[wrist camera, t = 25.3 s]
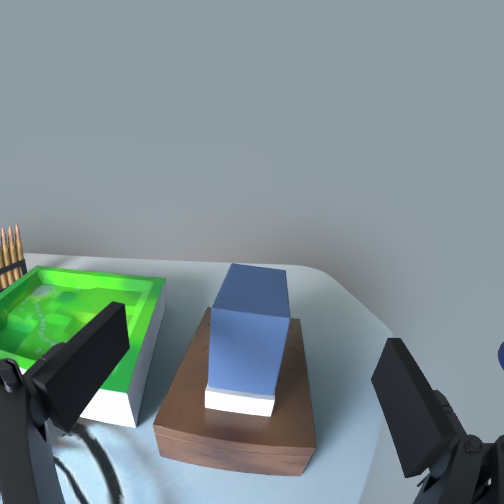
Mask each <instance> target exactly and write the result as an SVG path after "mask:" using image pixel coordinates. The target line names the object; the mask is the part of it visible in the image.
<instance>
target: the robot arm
mask: <svg viewBox="0 0 504 504" xmlns="http://www.w3.org/2000/svg"><path fill="white" fill-rule="evenodd" d="M129 349H130V343H129V336H128V328H127V319H126V309H125V304H124V303H119V302H115V301H112V302H111V303H109V304H108V305H107V306H106V307H105V308H104V309H103V310H102V311H100V312H99V313H98V314H97V315H96V316H95V317H94V318H93V319H91V320H90V321H89V322H88V323H87V324H86V325H85V326H84V327H83V328H82V329H80V330H79V331H78V332H77V333H76V334H75V335H74V336H73V337H72V338H71V339H70V340H69V341H68V342H66V343H65V342H60V343H58V344H56V345H54V346H52V347H51V348H50V349H49V350H48V351H47V352H46V354H44V355H42V356H41V359H40V358H39V359H38V360H37V361H36V362H35V363H34V364H33V365H32V366H31V367H30V368H29V369H28V370H27V371H26V372H25V373H24V374H23V375H22V372H21V370H20V368H19V365H18V363H17V362H16V361H15V360H13V359H11V358H4V359H0V493H1V495H2V501H3V504H65V501H64V498H63V494H62V491H61V487H60V484H59V480H58V476H57V472H56V468H55V463H54V459H53V454H52V448H51V444H50V437H49V430H48V425H47V423H46V421H47V419H48V418H49V417H50V419H51V421H52V422H53V424H54V426H56V427H58V428H60V429H61V430H63V431H65V432H67V433H69V431H70V430H71V428H72V427H73V425H74V424H75V423H76V421H77V420H78V418H79V417H80V415H81V414H82V413H83V411H84V410H85V408H86V407H87V406H88V404H89V403H90V401H91V400H92V399H93V397H94V396H95V394H96V393H97V392H98V390H99V389H100V388H101V386H102V385H103V383H104V382H105V381H106V379H107V378H108V377H109V375H110V374H111V373H112V371H113V370H114V369H115V367H116V366H117V365H118V363H119V362H120V361H121V359H122V358H123V357H124V355H125V354H126V353H127V351H128V350H129ZM371 381H372V384H373V386H374V389H375V391H376V394H377V397H378V399H379V402H380V405H381V407H382V410H383V413H384V416H385V418H386V421H387V424H388V427H389V430H390V433H391V436H392V439H393V442H394V445H395V448H396V451H397V454H398V457H399V460H400V463H401V466H402V470H403V473H404V476H405V478H409V477H413V476H417V475H421V474H422V472H424V471H425V470H426V469H427V468H429V471H430V473H429V474H428V475H427V476H426V477H425V478H424V479H423V480H422V481H421V482H420V483H419V484H418V485H417V486H418V487H419V486H420V485H421V484H422V483H423V485H422V487H421V489H420V491H419V493H418V495H417V497H416V499H415V501H414V503H413V504H504V435H502V436H500V437H499V438H498V439H497V440H496V442H495V443H482V441H481V440H480V439H479V438H478V437H477V436H475V435H467V434H466V432H465V430H464V429H463V427H462V425H461V423H460V421H459V420H458V418H457V416H456V414H455V413H453V409H452V407H451V406H450V404H449V402H448V401H447V399H446V397H445V396H444V395H443V394H442V393H440V392H439V391H438V390H432V388H431V386H430V384H429V383H428V381H427V379H426V378H425V376H424V374H423V373H422V371H421V370H420V368H419V366H418V365H417V363H416V362H415V360H414V358H413V357H412V355H411V354H410V352H409V351H408V349H407V347H406V346H405V344H404V343H403V341H402V340H401V339H400V338H388V339H387V342H386V344H385V347H384V349H383V352H382V354H381V357H380V359H379V362H378V364H377V366H376V369H375V371H374V373H373V376H372V378H371ZM489 479H491V484H490V485H488V480H489Z"/></svg>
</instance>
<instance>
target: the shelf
mask: <svg viewBox="0 0 504 504" xmlns="http://www.w3.org/2000/svg"><path fill="white" fill-rule="evenodd" d="M210 324H211V307H208V308H207V310H206V312H205V314H204V316H203V318H202V320H201V322H200V324H199V326H198V328H197V331H196V333H195V335H194V337H193V339H192V341H191V343H190V345H189V347H188V350H187V352H186V354H185V356H184V358H183V360H182V362H181V365H180V367H179V369H178V371H177V373H176V375H175V377H174V380H173V382H172V384H171V386H170V388H169V390H168V392H167V395H166V397H165V399H164V401H163V403H162V406H161V408H160V410H159V412H158V414H157V416H156V419H155V421H154V423H153V427H154V432H155V436H156V440H157V444H158V448H159V452H160V456H163V457H166V458H170V459H174V460H178V461H182V462H186V463H191V464H196V465H201V466H206V467H211V468H217V469H223V470H230V471H237V472H245V473H255V474H266V475H283V476H301V474H302V472H303V471H304V469H305V467H306V465H307V464H308V462H309V460H310V458H311V456H312V455H313V453H314V451H315V449H316V441H315V431H314V422H313V414H312V405H311V397H310V389H309V381H308V373H307V366H306V359H305V351H304V344H303V337H302V331H301V324H300V319H294V318H290V324H289V329H288V334H287V338H286V343H285V348H284V353H283V357H282V362H281V366H280V371H279V375H278V379H277V384H276V388H275V402H274V406H273V410H272V414H271V416H261V415H252V414H244V413H237V412H230V411H223V410H217V409H212V408H206V407H205V390H206V387H207V384H208V372H209V345H210Z"/></svg>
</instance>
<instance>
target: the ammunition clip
mask: <svg viewBox="0 0 504 504" xmlns="http://www.w3.org/2000/svg"><path fill="white" fill-rule="evenodd" d="M8 240H9V241H8V243H9V250H8V246H7V241H6V234H5V231H4V228H2V232H1V243H2V244H1V245H2V251H1V249H0V293H1V292H2V291H4V290H5V289H6V288H7V287H9V286H10V285H11V284H13V283H14V282H15V281H17V280H18V279H19V278H21V277H22V276H23V275H25V274H26V273H27V269H26V263H25V259H24V257H23V249H22V243H21V238H20V231H19V227H18V225H17V224H16V228H15V245H14V238H13V232H12V229H11V226H9V230H8Z"/></svg>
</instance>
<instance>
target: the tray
mask: <svg viewBox="0 0 504 504" xmlns="http://www.w3.org/2000/svg"><path fill="white" fill-rule="evenodd" d="M112 301H115V302H119V303H124V304H125V309H126V319H127V328H128V336H129V343H130V349H129V350H128V351H127V353H126V354H125V355H124V357H123V358H122V359H121V361H120V362H119V363H118V365H117V366H116V367H115V369H114V370H113V371H112V373H111V374H110V375H109V377H108V378H107V379H106V381H105V382H104V383H103V385H102V386H101V388H100V389H99V390H98V392H97V393H96V394H95V396H94V397H93V399H92V400H91V401H90V403H89V404H88V406H87V407H86V408H85V410H84V411H83V413H82V414H81V415H80V417H84V418H88V419H93V420H97V421H102V422H107V423H112V424H117V425H122V426H128V427H135V428H136V425H137V420H138V415H139V410H140V406H141V401H142V397H143V392H144V388H145V384H146V379H147V375H148V371H149V367H150V363H151V359H152V355H153V351H154V347H155V344H156V340H157V336H158V333H159V329H160V325H161V322H162V318H163V315H164V311H165V308H166V278H157V277H145V276H133V275H122V274H111V273H100V272H90V271H80V270H71V269H62V268H53V267H44V266H36V267H35V268H33V269H32V270H30V271H29V272H28V273H26V274H25V275H23V276H22V277H21V278H19V279H18V280H17V281H15V282H14V283H13V284H11V285H10V286H9V287H7V288H6V289H5V290H4V291H2V292H1V293H0V359H4V358H11V359H13V360H15V361H16V362H17V363H18V365H19V368H20V370H21V372H22V375H23V374H24V373H25V372H26V371H27V370H28V369H29V368H30V367H31V366H32V365H33V364H34V363H35V362H36V361H37V360H38V359H39V358H40V359H41V356H42V355H44V354H46V352H47V351H48V350H49V349H50V348H51V347H52V346H54V345H56V344H58V343H60V342H65V343H66V342H68V341H69V340H70V339H71V338H72V337H73V336H74V335H75V334H76V333H77V332H78V331H79V330H80V329H82V328H83V327H84V326H85V325H86V324H87V323H88V322H89V321H90V320H91V319H93V318H94V317H95V316H96V315H97V314H98V313H99V312H100V311H102V310H103V309H104V308H105V307H106V306H107V305H108V304H109V303H111V302H112Z"/></svg>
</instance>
